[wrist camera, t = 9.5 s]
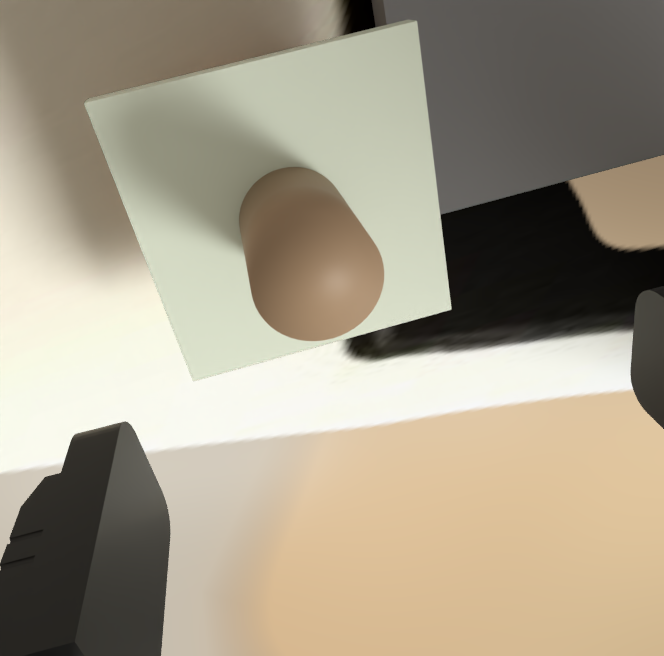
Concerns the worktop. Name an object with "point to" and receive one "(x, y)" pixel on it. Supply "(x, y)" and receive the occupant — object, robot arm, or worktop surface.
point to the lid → (283, 196)
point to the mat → (535, 90)
